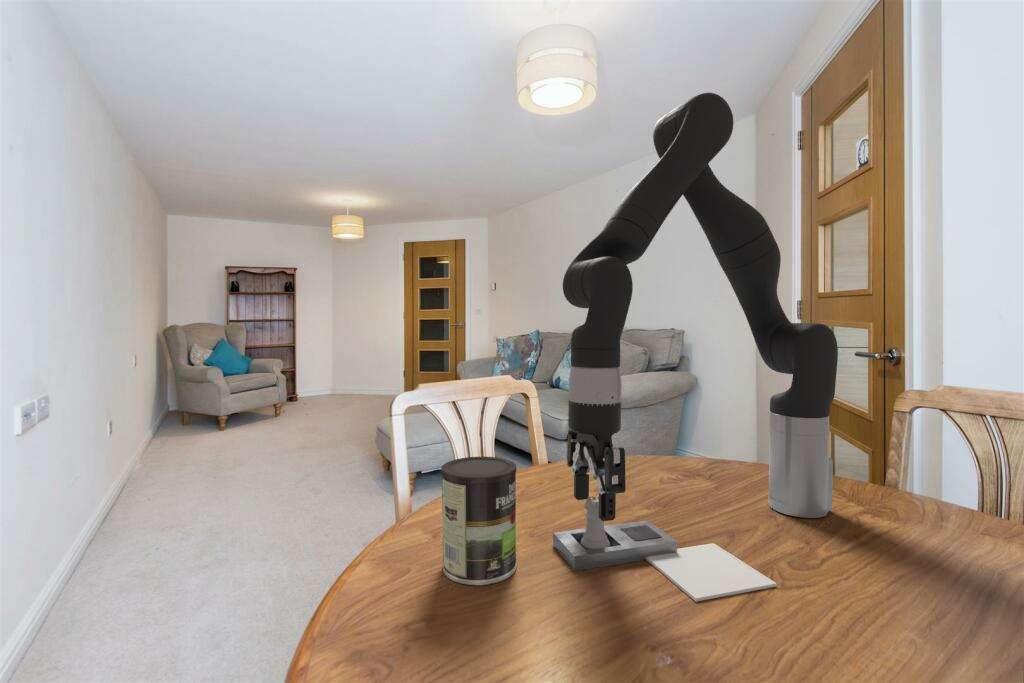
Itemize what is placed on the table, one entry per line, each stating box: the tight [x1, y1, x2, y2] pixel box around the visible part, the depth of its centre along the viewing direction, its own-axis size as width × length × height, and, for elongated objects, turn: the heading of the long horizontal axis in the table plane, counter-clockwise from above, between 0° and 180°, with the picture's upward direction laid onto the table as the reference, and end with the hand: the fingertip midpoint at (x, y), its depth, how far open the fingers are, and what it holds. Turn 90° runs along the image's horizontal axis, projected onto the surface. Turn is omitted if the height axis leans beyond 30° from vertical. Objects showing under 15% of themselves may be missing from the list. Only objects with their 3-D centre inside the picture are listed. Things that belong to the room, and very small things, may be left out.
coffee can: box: [440, 456, 517, 586], centre depth 69 cm, size 10×10×14 cm
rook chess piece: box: [580, 495, 610, 550], centre depth 73 cm, size 4×4×8 cm
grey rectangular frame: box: [552, 519, 678, 572], centre depth 73 cm, size 16×8×2 cm, turn 106°
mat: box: [645, 542, 778, 603], centre depth 67 cm, size 12×12×1 cm
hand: (593, 508), depth 72 cm, fingers open, 8 cm apart
